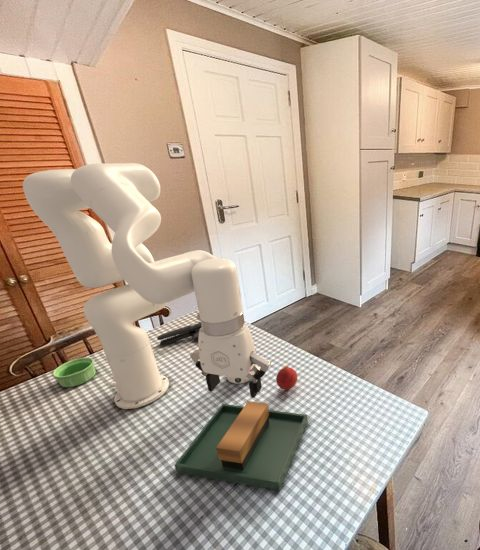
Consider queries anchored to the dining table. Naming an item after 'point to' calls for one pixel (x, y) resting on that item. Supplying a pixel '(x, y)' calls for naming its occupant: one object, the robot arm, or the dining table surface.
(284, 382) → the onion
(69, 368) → the ramekin
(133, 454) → the dining table surface
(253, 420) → the tan wooden block
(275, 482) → the tray
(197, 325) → the can opener
